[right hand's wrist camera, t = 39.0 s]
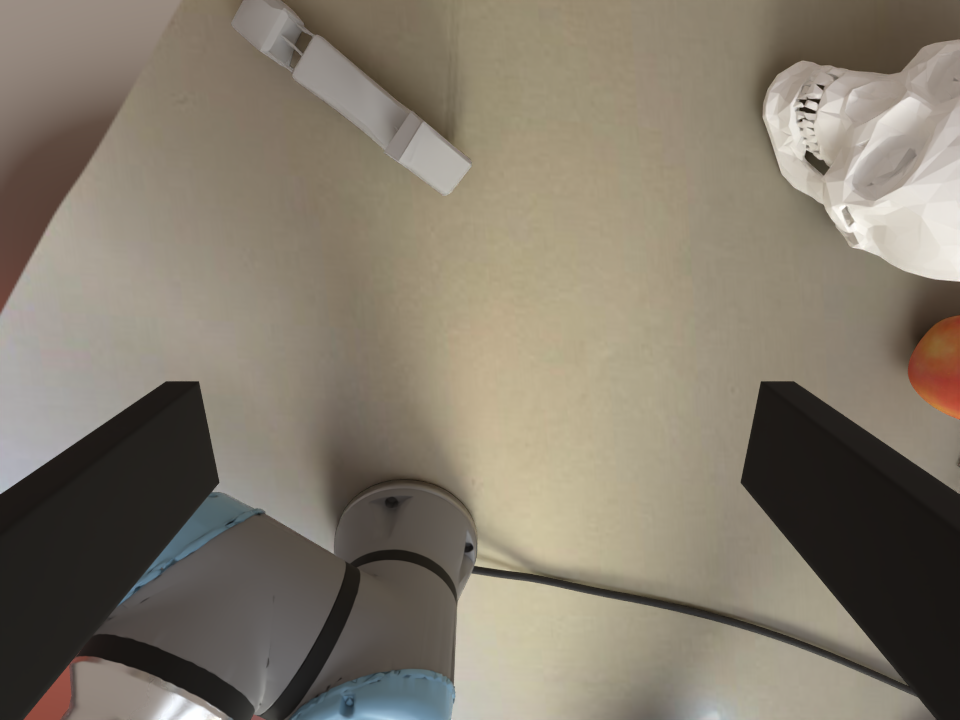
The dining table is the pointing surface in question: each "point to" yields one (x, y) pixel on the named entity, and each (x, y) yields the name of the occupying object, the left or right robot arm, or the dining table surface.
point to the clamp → (352, 94)
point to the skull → (879, 154)
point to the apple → (938, 366)
